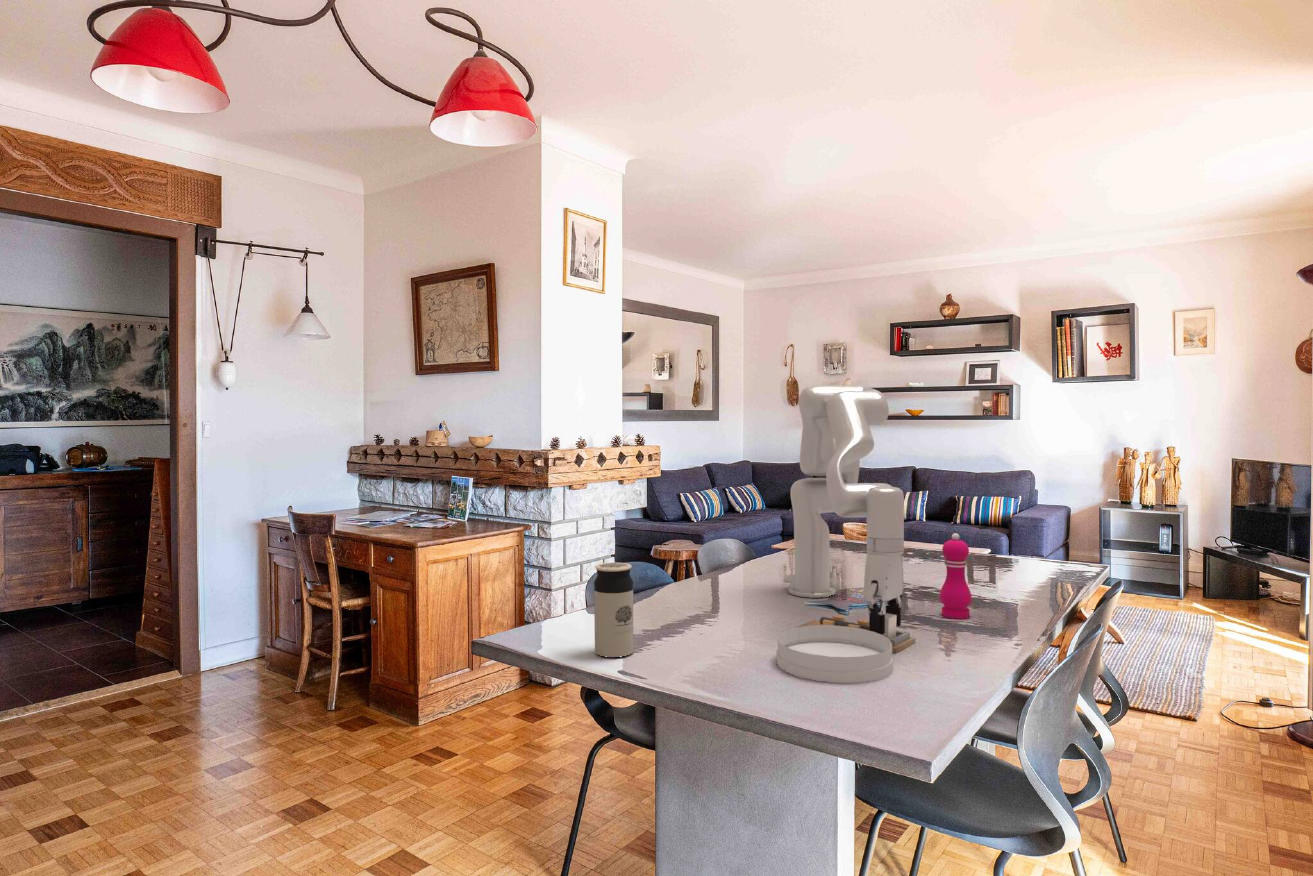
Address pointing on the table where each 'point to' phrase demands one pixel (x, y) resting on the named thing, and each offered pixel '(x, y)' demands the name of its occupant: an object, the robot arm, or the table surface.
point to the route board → (894, 648)
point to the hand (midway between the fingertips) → (885, 628)
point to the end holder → (899, 638)
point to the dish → (835, 654)
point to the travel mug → (613, 610)
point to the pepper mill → (955, 580)
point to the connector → (889, 626)
